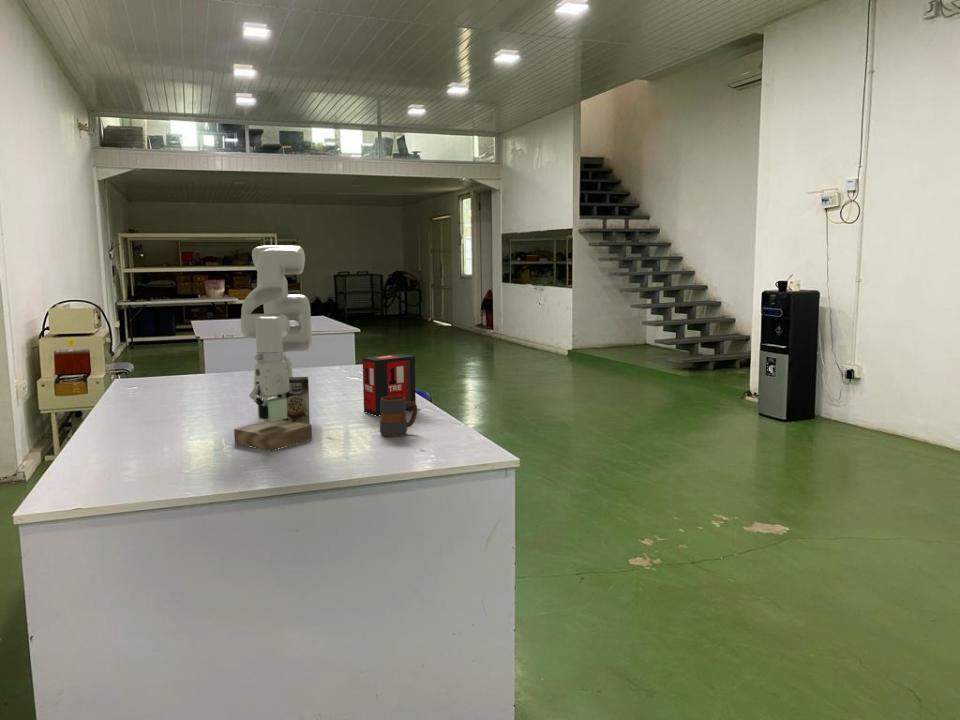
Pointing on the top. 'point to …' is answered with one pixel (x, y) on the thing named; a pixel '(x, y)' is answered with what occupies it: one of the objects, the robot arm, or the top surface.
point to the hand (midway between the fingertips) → (272, 415)
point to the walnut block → (273, 434)
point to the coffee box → (298, 401)
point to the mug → (395, 415)
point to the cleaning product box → (388, 380)
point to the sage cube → (275, 409)
